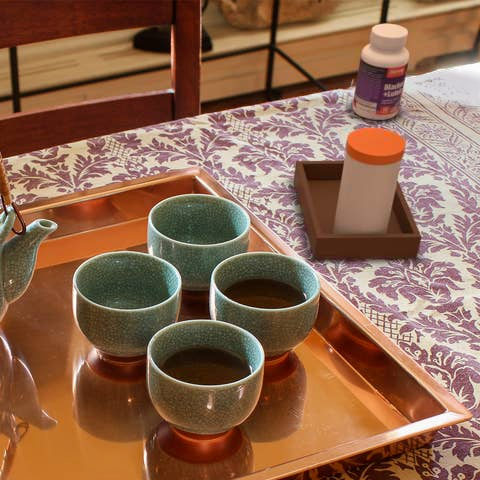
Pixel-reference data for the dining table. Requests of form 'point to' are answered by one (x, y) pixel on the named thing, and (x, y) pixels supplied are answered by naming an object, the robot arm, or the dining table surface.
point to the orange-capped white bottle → (368, 181)
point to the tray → (324, 210)
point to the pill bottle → (382, 73)
